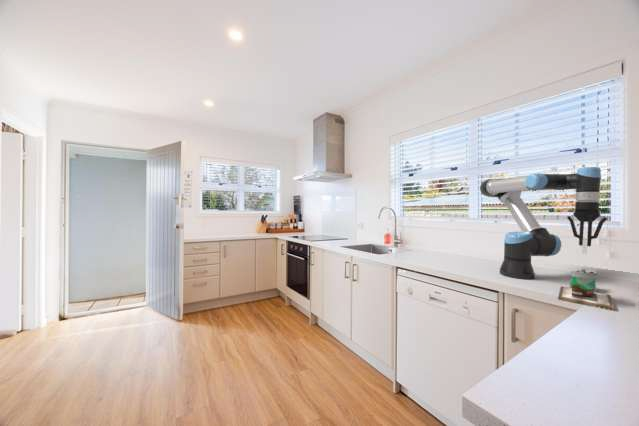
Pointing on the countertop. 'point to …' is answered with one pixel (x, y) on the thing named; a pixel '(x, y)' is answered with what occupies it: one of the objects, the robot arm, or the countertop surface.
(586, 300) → the drawing board
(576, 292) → the food container
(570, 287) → the button housing
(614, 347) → the countertop surface
